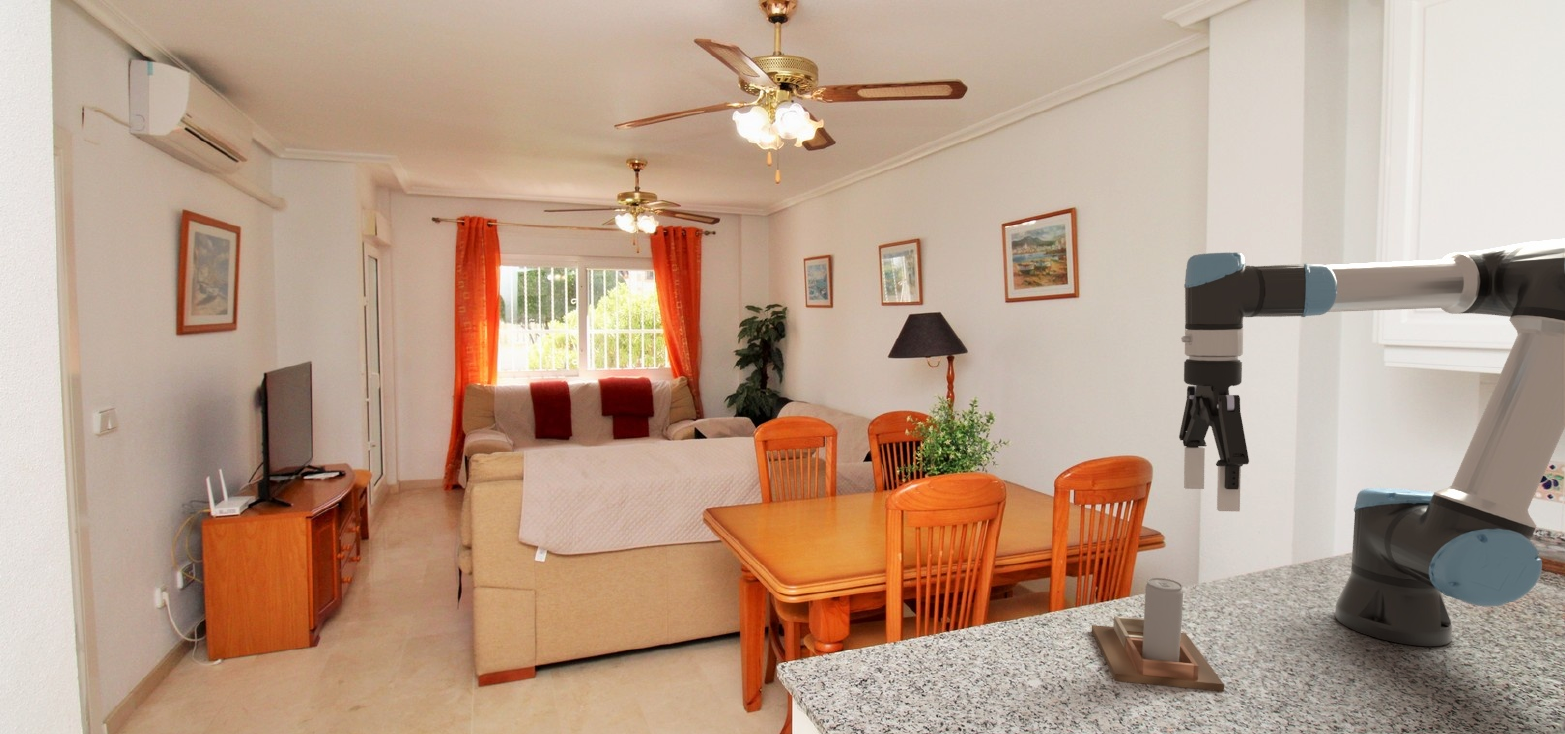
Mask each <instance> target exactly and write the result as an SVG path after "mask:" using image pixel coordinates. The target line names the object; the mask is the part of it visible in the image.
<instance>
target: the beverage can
mask: <svg viewBox="0 0 1565 734" xmlns="http://www.w3.org/2000/svg"><path fill="white" fill-rule="evenodd" d="M1144 595H1145V596H1144V612H1143V614H1144V616H1143V619H1144V631H1143V651H1142V658H1143V659H1148V660H1159V661H1170V662H1179V654H1180V639H1181V633H1182V622H1183V621H1182V620H1183V602H1184V590H1183V584H1182V583H1180V582H1179V581H1176V580H1173V579H1169V578H1163V577H1152V578H1151V577H1150V578H1149V579H1147V581H1146V585H1145V594H1144Z"/></svg>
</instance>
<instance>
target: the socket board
mask: <svg viewBox="0 0 1565 734" xmlns="http://www.w3.org/2000/svg"><path fill="white" fill-rule="evenodd" d="M1143 631H1144V617H1143V618H1141V617H1139V618H1138V617H1128V616H1119V615H1118V616H1116V615H1114V616H1113V626H1106V625H1095V624H1092V625H1091V633H1092V634H1093V637H1094V640H1095V641H1096V643H1097V645H1098V648H1099V650H1100V652H1101V654H1102V656H1103V659H1104V660H1105V662H1106V665H1107V667H1108V670H1109V672H1110V673H1111V675H1112V678H1113V680H1114V681H1115V682H1116V681H1117V682H1125V683H1136V684H1145V685H1147V684H1148V685H1156V686H1165V687H1177V688H1187V689H1196V690H1197V689H1199V690H1208V691H1218V692H1224V691H1225V682H1223V681H1222V679H1221V678H1220V677H1219V676H1218V674H1217V673H1216V671H1215V670H1214V669H1213V668H1212V666H1211V665H1210V664H1209V662H1208V660H1206V658H1205V657H1204V655H1203V654H1202V652H1200V650H1199V649H1198V647H1197V646H1196V644H1195V643H1194V642H1193V641H1192V639H1191V638H1190V637H1189V636H1188V634H1187V633H1186V632H1181V639H1180V654H1179V662H1170V661H1159V660H1148V659H1143V658H1142V651H1143Z"/></svg>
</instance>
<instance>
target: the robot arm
mask: <svg viewBox="0 0 1565 734" xmlns="http://www.w3.org/2000/svg"><path fill="white" fill-rule="evenodd" d="M1183 287H1184V302H1185V303H1184V307H1185V308H1184V309H1185V310H1184V311H1185V312H1184V314H1185V316H1184V318H1185V319H1184V320H1185V321H1184V322H1185V323H1184V335H1183V336H1182V337H1181V342H1182V343H1184V355H1185V356H1187V357H1188V358H1187V359H1185V361H1184V362H1183V363H1184V364H1183V367H1184V368H1183V381H1184V383H1185V384H1187V385H1188V386H1187V389H1186V402H1185V405H1184V411H1183V415H1182V421H1181V424H1180V425H1181V426H1180V431H1179V435H1178V438H1179V440H1180V441H1182V444H1183V447H1184V468H1183V471H1184V472H1183V474H1184V475H1183V488H1184V489H1185V490H1189V489H1190V490H1193V489H1194V490H1205V451H1206V448H1205V447H1207V443H1206V440H1205V438H1206V436H1207V433H1208V430H1209V429H1210V427H1211V430H1212V433H1213V434H1212V435H1213V437H1214V442H1215V444H1216V449H1217V453H1218V456H1219V457H1218V458H1219V459H1218V460H1217V461H1216V463H1215V466H1217V489H1216V490H1217V495H1216V497H1217V498H1216V500H1217V501H1216V510H1217V511H1218V512H1240V511H1241V510H1240V509H1241V472H1242V471H1241V470H1242V469H1241V467H1243V465H1248V464H1249V463H1250V458H1249V453H1248V447H1247V442H1246V436H1245V431H1244V430H1245V429H1244V425H1243V419H1242V413H1241V397H1240V395H1239V394H1234V395H1233V394H1230V387H1235V386H1236V387H1237V386H1239V385H1241V384H1242V377H1243V362H1241V360H1240V359H1239V357H1241V356H1242V355H1243V353H1244V351H1243V350H1244V349H1243V348H1244V347H1243V345H1244V324H1243V323H1244V318H1254V317H1256V318H1258V317H1261V318H1262V317H1263V318H1265V317H1266V318H1267V317H1269V318H1270V317H1273V318H1274V317H1275V318H1276V317H1278V318H1281V317H1301V318H1306V317H1311V316H1323V315H1325V314H1326V313H1335V312H1338V313H1339V312H1359V311H1360V312H1361V311H1362V312H1363V311H1364V312H1365V311H1384V310H1385V311H1390V310H1393V311H1394V310H1417V309H1418V310H1420V309H1424V310H1425V309H1441V310H1443V311H1444V312H1445V313H1448V314H1452V315H1453V314H1460V315H1461V314H1476V315H1491V316H1499V317H1510V318H1509V321H1510V322H1509V323H1511V325H1512V326H1513V328H1514V329H1515V330H1516V333H1517V336H1516V338H1515V339H1514V343H1513V344H1512V347H1511V348H1510V352H1509V354H1508V356H1507V358H1506V359H1505V360H1506V361H1505V363H1504V365H1503V368H1502V370H1501V372H1500V375H1499V376H1498V378H1497V381H1496V382H1495V383H1496V384H1495V386H1494V388H1493V391H1492V392H1491V395H1490V397H1489V399H1488V402H1487V404H1486V407H1485V408H1484V411H1483V413H1482V416H1481V418H1480V420H1479V422H1478V424H1477V427H1476V429H1475V432H1474V433H1473V435H1472V438H1471V441H1470V443H1469V445H1468V447H1467V449H1466V452H1465V454H1464V456H1463V458H1462V461H1461V464H1460V465H1459V468H1458V469H1457V472H1456V475H1455V476H1454V479H1453V482H1452V484H1451V485H1450V486H1448V487H1446V488H1444V489H1440V490H1437V491H1435V492H1434V491H1430V490H1429V491H1427V490H1419V489H1418V490H1417V489H1404V488H1391V487H1390V488H1388V487H1387V488H1384V487H1383V488H1382V487H1370V488H1363V489H1361V490H1359V492H1358V493H1357V495H1356V501H1355V504H1354V508H1353V511H1354V512H1353V513H1354V519H1353V520H1354V523H1353V536H1352V555H1351V570H1350V574H1349V576H1348V579H1347V581H1346V582H1345V584H1344V587H1343V589H1342V590H1341V592H1340V594H1339V597H1338V598H1337V600H1336V603H1335V610H1334V611H1335V613H1334V617H1335V619H1336V620H1337V621H1338V622H1339V623H1340V624H1342V625H1343V626H1345V627H1347V628H1348V629H1350V630H1353V631H1355V632H1358V633H1361V634H1364V635H1367V636H1369V637H1373V638H1376V639H1379V640H1383V641H1387V642H1393V643H1398V644H1403V645H1409V646H1417V647H1419V646H1420V647H1439V646H1440V647H1441V646H1445V645H1448V644H1450V643H1451V642H1452V637H1453V636H1452V634H1453V624H1452V622H1451V618H1450V615H1449V612H1448V609H1447V605H1446V603H1445V600H1444V599H1445V598H1444V596H1447V597H1450V598H1452V599H1455V600H1459V601H1461V602H1462V603H1463V602H1464V603H1466V604H1468V605H1471V606H1477V607H1485V608H1487V607H1489V608H1490V607H1493V608H1494V607H1501V606H1503V605H1505V604H1507V603H1508V604H1509V603H1514V602H1516V601H1518V600H1520V599H1521V598H1523V597H1524V596H1526V595H1528V593H1530V591H1531V590H1533V588H1534V587H1535V586H1536V584H1537V583H1538V581H1539V579H1540V577H1541V574H1542V570H1543V562H1542V561H1543V560H1542V559H1541V558H1540V557H1539V555H1540V554H1539V553H1540V552H1539V550H1538V549H1537V547H1536V545H1535V544H1534V543H1532V541H1531V540H1532V537H1533V535H1534V533H1535V532H1536V528H1537V523H1536V522H1535V521H1534V520H1533V518H1532V517H1531V515H1530V514H1529V507H1530V505H1531V504H1532V501H1533V499H1534V497H1535V496H1536V495H1535V494H1536V492H1537V490H1538V487H1539V485H1540V483H1541V481H1542V479H1543V477H1544V475H1545V472H1546V471H1547V468H1548V466H1549V463H1550V462H1551V459H1552V457H1553V454H1554V452H1555V450H1556V448H1557V445H1558V443H1559V441H1560V439H1561V436H1562V434H1563V432H1564V430H1565V238H1562V239H1561V238H1559V239H1549V240H1537V241H1529V242H1523V243H1517V244H1511V245H1507V246H1500V247H1495V248H1489V249H1483V250H1475V251H1467V252H1452V253H1449V254H1447V255H1445V256H1444V257H1443V258H1442V259H1435V260H1434V259H1433V260H1431V259H1430V260H1412V261H1392V262H1391V261H1390V262H1367V263H1349V264H1345V263H1344V264H1326V265H1324V264H1307V263H1302V264H1301V263H1300V264H1280V265H1278V264H1277V265H1276V264H1275V265H1258V266H1255V265H1246V262H1245V256H1244V255H1243V253H1241V252H1212V253H1211V252H1210V253H1200V254H1199V253H1198V254H1194V255H1192V256H1190V257H1189V258H1188V260H1187V262H1186V269H1185V279H1184V286H1183Z"/></svg>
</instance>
